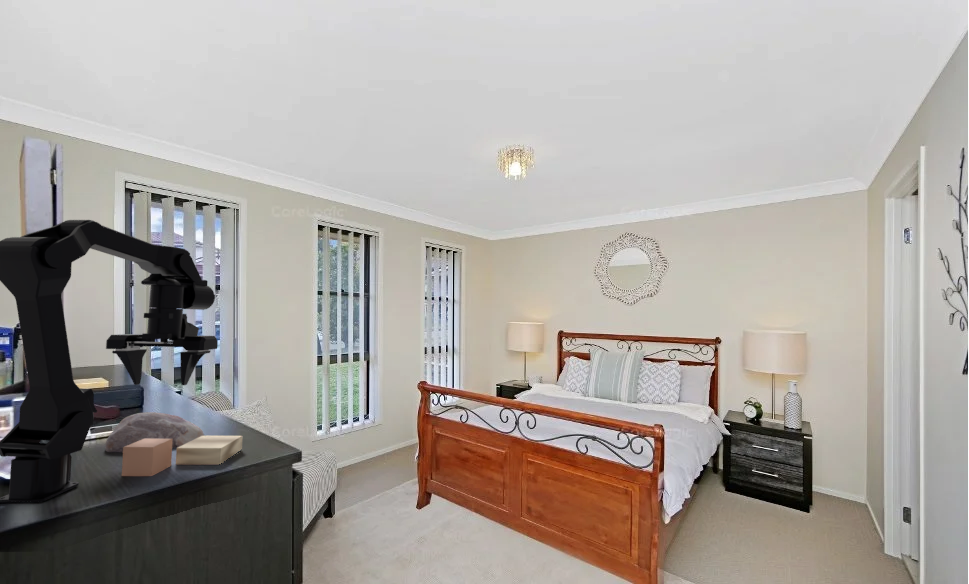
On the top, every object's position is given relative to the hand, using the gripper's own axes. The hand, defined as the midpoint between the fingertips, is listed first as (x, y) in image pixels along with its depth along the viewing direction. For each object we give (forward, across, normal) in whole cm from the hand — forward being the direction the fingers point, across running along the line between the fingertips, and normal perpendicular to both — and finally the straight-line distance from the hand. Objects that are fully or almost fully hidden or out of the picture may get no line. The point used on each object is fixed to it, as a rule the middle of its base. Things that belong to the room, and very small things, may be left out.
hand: (160, 384), depth 89 cm
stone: (+14, +3, -5) cm, 15 cm away
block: (+14, -6, +11) cm, 18 cm away
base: (+13, -13, +4) cm, 19 cm away
